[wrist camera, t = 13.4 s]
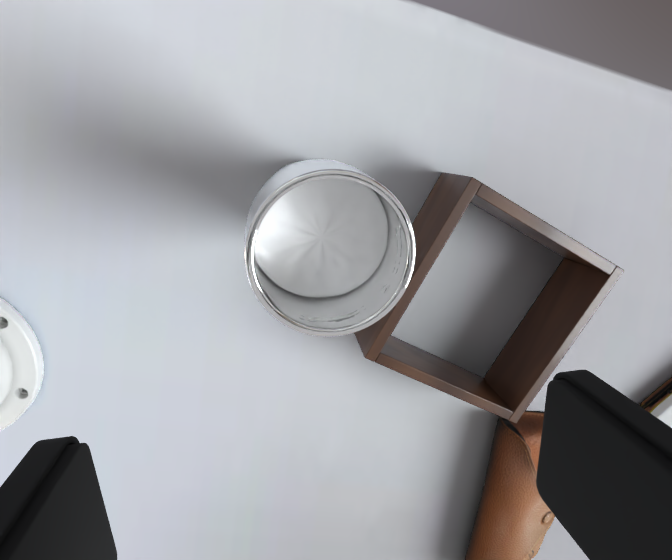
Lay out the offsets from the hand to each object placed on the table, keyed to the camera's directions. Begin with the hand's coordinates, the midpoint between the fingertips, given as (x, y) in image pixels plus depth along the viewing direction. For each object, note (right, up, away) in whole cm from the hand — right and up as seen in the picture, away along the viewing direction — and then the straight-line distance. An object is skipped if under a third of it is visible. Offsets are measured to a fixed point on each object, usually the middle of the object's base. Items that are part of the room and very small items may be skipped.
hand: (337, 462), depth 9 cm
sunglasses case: (+17, -17, +33) cm, 40 cm away
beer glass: (-2, +9, +22) cm, 24 cm away
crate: (+10, +3, +25) cm, 27 cm away
